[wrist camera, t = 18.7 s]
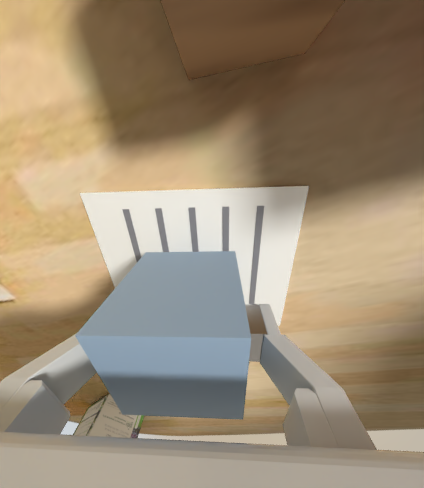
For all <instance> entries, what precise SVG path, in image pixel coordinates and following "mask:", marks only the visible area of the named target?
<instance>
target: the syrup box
mask: <svg viewBox="0 0 424 488" xmlns="http://www.w3.org/2000/svg"><path fill="white" fill-rule="evenodd" d="M143 418H144V415H122V413H121V411H120V410H119V408H118V406H117V405H116V403H115V401H114V400H113V398H112V396H111V395H110V394H108V395H106V396H105V397H103V398H102V399H100V400H99V401H97V402H96V403H94V404H93V405H91V406H90V407H89V408H88V409H87V411H86V412H85V414H84V416H83V418H82V419H81V421H80V423H79V425H78V427H77V428H76V430H75V432H74V434H73V435H79V436H100V437H121V438H137V437H138V434H139V431H140V428H141V425H142V421H143Z"/></svg>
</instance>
